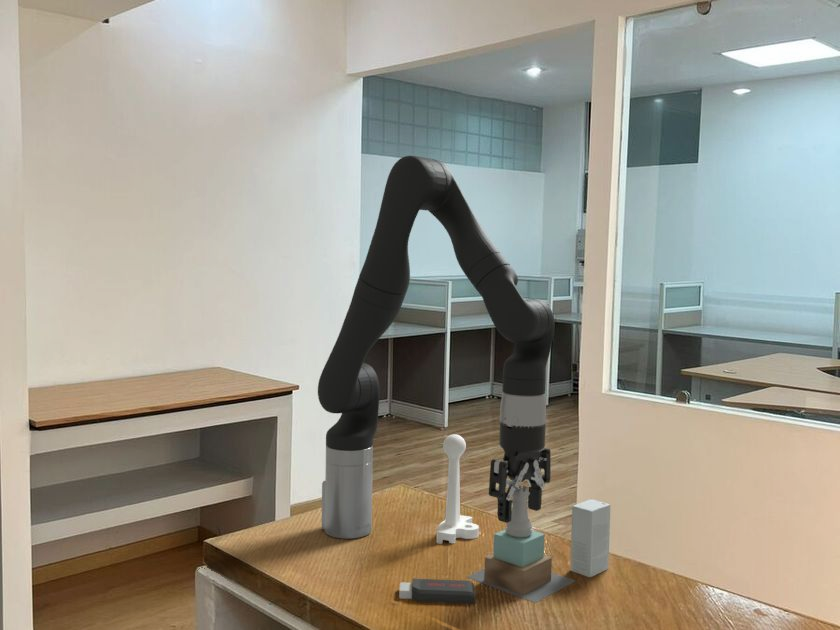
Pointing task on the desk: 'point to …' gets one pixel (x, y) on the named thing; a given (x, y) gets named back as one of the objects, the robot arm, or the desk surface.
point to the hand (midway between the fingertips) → (519, 515)
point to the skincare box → (590, 537)
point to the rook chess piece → (519, 515)
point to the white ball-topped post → (455, 497)
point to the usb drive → (438, 591)
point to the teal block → (518, 548)
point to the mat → (534, 595)
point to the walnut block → (518, 574)
